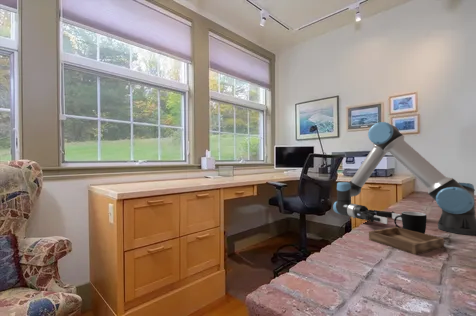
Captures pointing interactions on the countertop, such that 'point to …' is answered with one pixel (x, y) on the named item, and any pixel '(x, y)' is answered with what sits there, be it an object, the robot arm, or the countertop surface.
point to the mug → (413, 221)
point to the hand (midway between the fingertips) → (397, 219)
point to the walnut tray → (406, 240)
